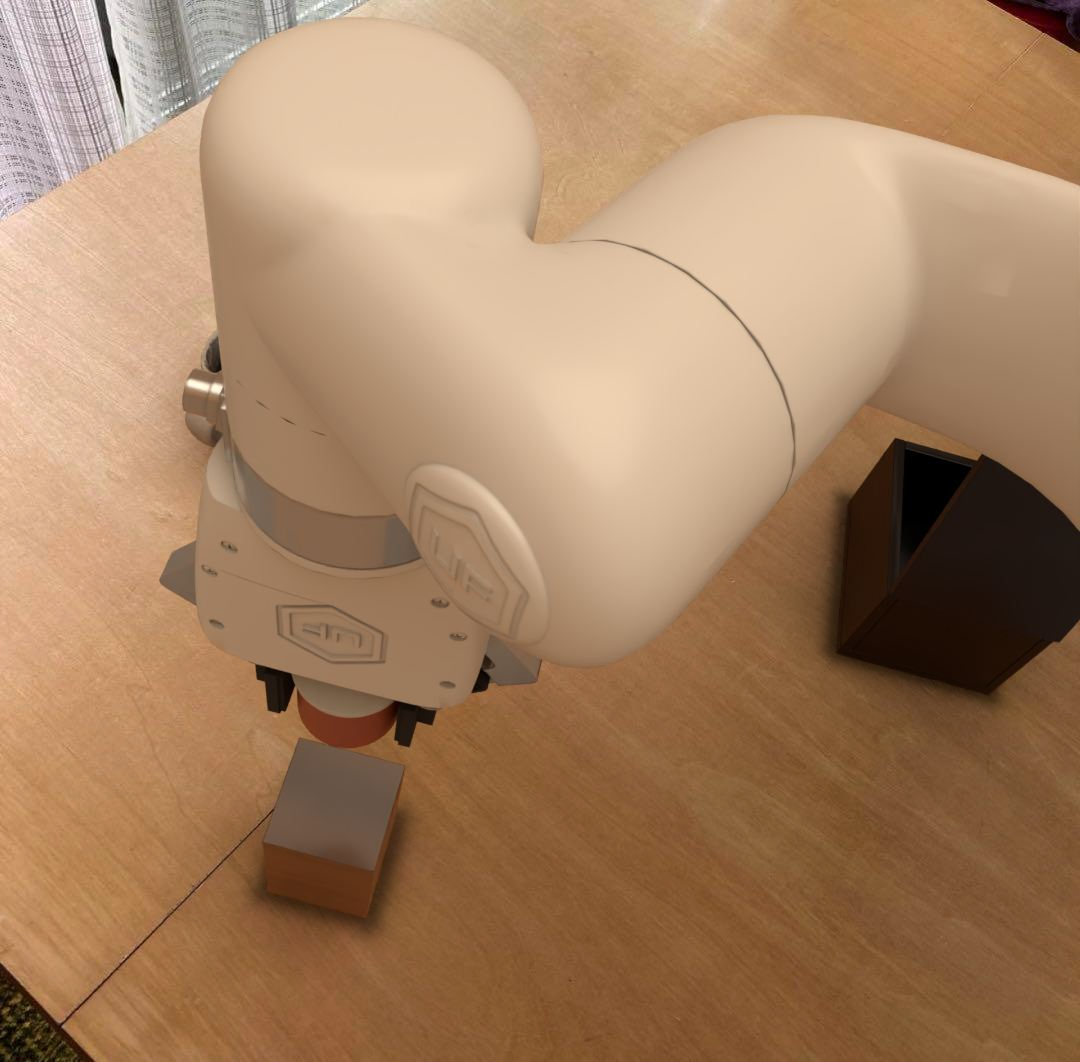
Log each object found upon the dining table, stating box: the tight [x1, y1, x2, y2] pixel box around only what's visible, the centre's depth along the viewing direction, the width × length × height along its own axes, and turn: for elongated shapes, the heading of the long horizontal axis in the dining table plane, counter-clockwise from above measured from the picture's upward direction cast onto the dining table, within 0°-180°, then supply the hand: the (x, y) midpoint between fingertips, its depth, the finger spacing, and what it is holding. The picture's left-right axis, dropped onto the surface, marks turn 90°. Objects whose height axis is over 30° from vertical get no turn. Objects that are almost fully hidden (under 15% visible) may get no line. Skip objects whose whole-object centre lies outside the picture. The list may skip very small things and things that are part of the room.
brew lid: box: [890, 453, 1080, 644], centre depth 71 cm, size 14×12×1 cm
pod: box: [291, 673, 400, 749], centre depth 48 cm, size 5×5×4 cm
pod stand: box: [262, 737, 406, 919], centre depth 66 cm, size 6×6×10 cm
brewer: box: [836, 437, 1054, 695], centre depth 84 cm, size 14×12×9 cm
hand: (349, 696), depth 49 cm, fingers closed on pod, 4 cm apart
